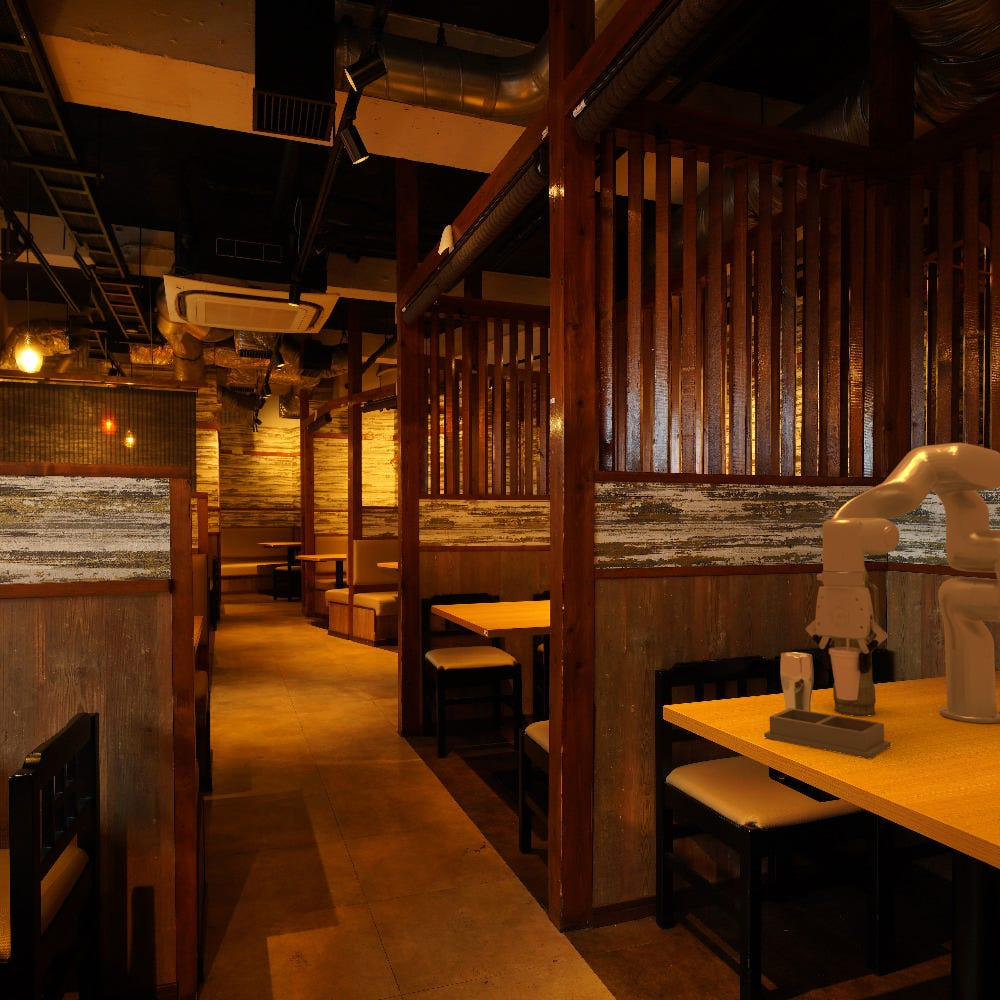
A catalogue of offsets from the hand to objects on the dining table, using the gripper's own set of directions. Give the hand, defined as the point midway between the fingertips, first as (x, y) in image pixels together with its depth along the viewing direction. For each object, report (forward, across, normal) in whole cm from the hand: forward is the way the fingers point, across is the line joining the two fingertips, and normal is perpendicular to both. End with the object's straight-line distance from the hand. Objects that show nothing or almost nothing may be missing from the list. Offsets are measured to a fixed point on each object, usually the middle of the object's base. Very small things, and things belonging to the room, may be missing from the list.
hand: (846, 669), depth 150 cm
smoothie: (+6, 0, 0) cm, 6 cm away
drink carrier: (+15, -4, 0) cm, 16 cm away
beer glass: (+15, -16, +12) cm, 25 cm away
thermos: (+15, -10, +29) cm, 34 cm away
